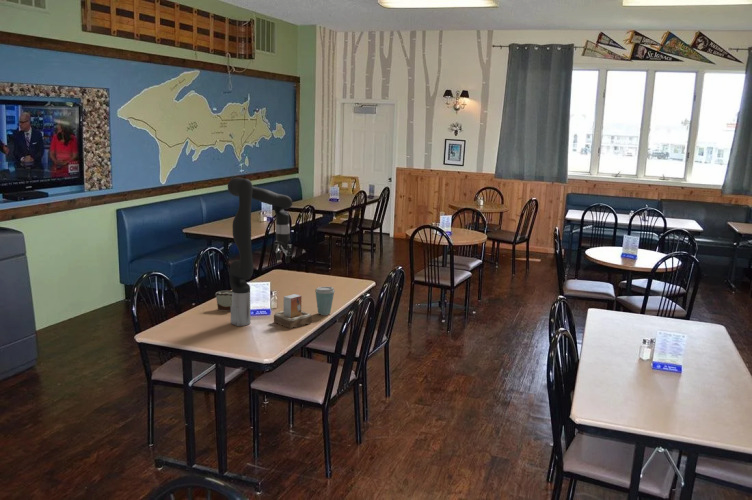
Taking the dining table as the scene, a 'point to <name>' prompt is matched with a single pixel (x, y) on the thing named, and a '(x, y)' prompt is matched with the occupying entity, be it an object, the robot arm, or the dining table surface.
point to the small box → (292, 305)
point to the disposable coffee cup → (324, 299)
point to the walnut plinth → (293, 319)
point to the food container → (224, 300)
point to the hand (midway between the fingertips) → (282, 261)
